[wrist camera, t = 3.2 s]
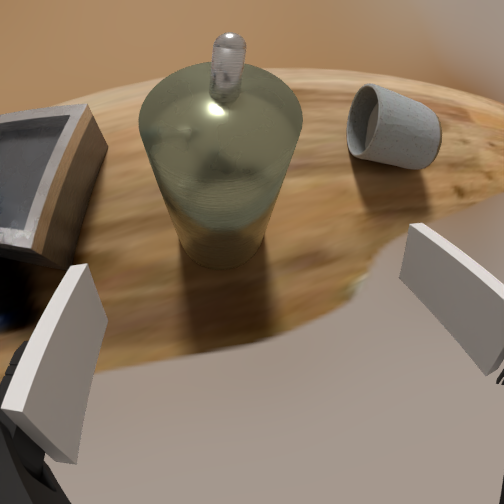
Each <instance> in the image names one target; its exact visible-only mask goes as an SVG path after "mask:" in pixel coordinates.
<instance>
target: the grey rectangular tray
mask: <svg viewBox="0 0 504 504" xmlns="http://www.w3.org/2000/svg"><path fill="white" fill-rule="evenodd" d="M107 148H108V145H107V143H106V141H105V139H104V137H103V135H102V133H101V131H100V129H99V127H98V125H97V123H96V121H95V119H94V116H93V114H92V112H91V110H90V108H89V106H88V104H78V105H66V106H56V107H47V108H39V109H32V110H26V111H19V112H14V113H8V114H2V115H0V257H2V258H6V259H11V260H16V261H20V262H25V263H30V264H35V265H40V266H45V267H50V268H55V269H61V270H66V271H68V269H69V268H70V266H72V262H73V258H74V254H75V249H76V245H77V241H78V238H79V234H80V230H81V226H82V223H83V219H84V216H85V212H86V209H87V206H88V202H89V199H90V196H91V193H92V190H93V187H94V184H95V181H96V178H97V175H98V172H99V170H100V167H101V164H102V161H103V159H104V156H105V154H106V151H107Z"/></svg>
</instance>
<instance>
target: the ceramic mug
mask: <svg viewBox="0 0 504 504" xmlns="http://www.w3.org/2000/svg"><path fill="white" fill-rule="evenodd" d="M347 143H348V148H349V150H350V153H351V154H352V155H353V156H354V157H356V158H360V159H366V160H371V161H375V162H380V163H385V164H390V165H395V166H399V167H402V168H406V169H424V168H426V167H428V166H429V165H430V164H431V163H432V162H433V161H434V160H435V158H436V156H437V155H438V153H439V150H440V146H441V143H442V128H441V124H440V121H439V118H438V117H437V115H436V114H435V113H434V112H433V111H432V110H431V109H429V108H428V107H426V106H425V105H423V104H422V103H420V102H417V101H415V100H412V99H410V98H407V97H405V96H402V95H400V94H398V93H395V92H393V91H390V90H388V89H385V88H383V87H380V86H378V85H375V84H365V85H364V86H362V87H361V88H360V89H359V91H358V92H357V93H356V95H355V97H354V99H353V102H352V105H351V107H350V111H349V116H348V122H347Z"/></svg>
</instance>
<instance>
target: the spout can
mask: <svg viewBox="0 0 504 504" xmlns="http://www.w3.org/2000/svg"><path fill="white" fill-rule="evenodd" d="M245 53H246V43H245V40H244V39H243V38H242V37H241V36H240V35H238V34H236V33H232V32H230V33H224V34H222V35H220V36H219V37H218V38H217V39H216V41H215V42H214V45H213V54H212V62H206V63H200V64H196V65H192V66H189V67H186V68H183V69H181V70H179V71H177V72H175V73H173V74H171V75H169V76H168V77H166V78H165V79H163V80H162V81H161V82H160V83H158V84H157V85H156V86H155V87H154V88H153V89H152V90H151V91H150V93H149V94H148V96H147V97H146V99H145V100H144V102H143V104H142V107H141V110H140V114H139V131H140V135H141V138H142V141H143V144H144V147H145V150H146V153H147V155H148V158H149V161H150V164H151V167H152V169H153V172H154V175H155V178H156V180H157V183H158V186H159V188H160V191H161V194H162V196H163V199H164V202H165V204H166V207H167V209H168V212H169V215H170V217H171V220H172V222H173V225H174V227H175V230H176V232H177V235H178V237H179V240H180V242H181V244H182V247H183V249H184V250H185V252H186V253H187V255H188V256H189V257H190V258H191V259H192V260H194V261H195V262H196V263H198V264H200V265H202V266H204V267H207V268H210V269H215V270H227V269H232V268H235V267H238V266H240V265H242V264H244V263H245V262H247V261H248V260H249V259H250V258H252V257H253V255H254V254H255V253H256V252H257V250H258V249H259V246H260V244H261V242H262V239H263V236H264V233H265V231H266V228H267V225H268V222H269V220H270V217H271V214H272V211H273V208H274V206H275V203H276V200H277V197H278V194H279V192H280V189H281V186H282V183H283V180H284V178H285V175H286V172H287V169H288V167H289V164H290V161H291V158H292V155H293V152H294V150H295V147H296V144H297V141H298V138H299V136H300V132H301V129H302V122H303V117H302V110H301V106H300V104H299V101H298V99H297V97H296V96H295V94H294V93H293V91H292V90H291V89H290V88H289V87H288V86H287V85H286V84H285V83H284V82H283V81H282V80H280V79H279V78H278V77H276V76H275V75H273V74H271V73H269V72H268V71H266V70H263V69H261V68H258V67H255V66H252V65H249V64H244V60H245Z"/></svg>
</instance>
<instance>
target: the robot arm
mask: <svg viewBox="0 0 504 504" xmlns="http://www.w3.org/2000/svg"><path fill="white" fill-rule="evenodd" d="M399 279H401V281H403V283H404V284H405V285H406V286H407V287H408V288H409V289H410V290H411V291H412V292H413V293H414V294H415V295H416V296H417V297H418V298H419V299H420V300H421V302H422V303H423V304H424V305H425V306H426V307H427V308H428V309H429V310H430V311H431V312H432V314H433V315H434V316H435V317H436V318H437V319H438V320H439V321H440V322H441V324H442V325H444V327H445V328H446V329H447V330H448V332H449V333H450V334H451V335H452V336H453V337H454V338H455V340H456V341H457V342H458V343H459V344H460V345H461V346H462V348H463V349H464V350H465V351H466V353H467V354H468V355H469V356H470V357H471V359H472V360H473V361H474V362H475V364H476V365H477V366H478V367H479V369H480V370H481V371H482V372H483V373H484V375H485V376H487V375H489V374H490V373H492V372H494V371H495V370H497V369H498V368H499V366H500V364H501V363H502V361H503V359H504V284H502V283H501V282H500V281H499V280H498V279H496V278H495V277H494V276H493V275H492V274H490V273H489V272H488V271H486V270H485V269H484V268H483V267H482V266H480V265H479V264H478V263H477V262H475V261H474V260H472V259H471V258H470V257H469V256H467V255H466V254H465V253H464V252H462V251H461V250H460V249H458V248H457V247H456V246H454V245H453V244H452V243H450V242H449V241H447V240H446V239H445V238H443V237H442V236H440V235H439V234H438V233H436V232H435V231H433V230H432V229H430V228H429V227H428V226H426V225H425V224H423V223H416V224H409V230H408V236H407V242H406V247H405V253H404V258H403V262H402V267H401V272H400V276H399ZM107 323H108V319H107V316H106V314H105V311H104V309H103V306H102V303H101V301H100V298H99V295H98V293H97V290H96V287H95V284H94V281H93V279H92V276H91V273H90V270H89V267H88V264H80V265H73V266H70V268H69V269H68V271H67V273H66V274H65V276H64V278H63V279H62V281H61V283H60V284H59V286H58V288H57V289H56V291H55V293H54V295H53V296H52V298H51V300H50V302H49V303H48V305H47V307H46V309H45V311H44V313H43V314H42V316H41V318H40V320H39V322H38V324H37V326H36V328H35V330H34V332H33V334H32V336H31V338H30V340H29V341H24V342H23V343H22V345H21V346H20V347H19V348H18V349H17V350H16V351H15V353H14V355H13V357H12V359H11V361H10V363H9V364H10V366H8V368H7V370H6V372H5V376H4V377H3V379H2V381H1V384H0V504H71V503H70V501H69V500H68V498H67V497H66V495H65V493H64V492H63V490H62V489H61V487H60V485H59V484H58V482H57V480H56V478H55V477H54V475H53V473H52V471H51V469H50V468H49V466H48V465H47V464H46V463H45V461H44V456H45V453H46V454H48V455H49V456H50V457H51V458H52V459H53V460H55V461H56V462H63V463H69V464H77V458H78V451H79V445H80V439H81V431H82V427H83V421H84V416H85V411H86V406H87V401H88V396H89V392H90V387H91V383H92V379H93V375H94V371H95V366H96V363H97V359H98V355H99V351H100V347H101V344H102V340H103V336H104V333H105V329H106V326H107ZM503 377H504V369H503V371H502V372H501V374H500V375H499V377H498V378H497V381H496V384H499V382H500V381H501V379H502V378H503ZM502 385H504V380H503V382H502ZM499 504H504V477H503V484H502V491H501V497H500V503H499Z"/></svg>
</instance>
